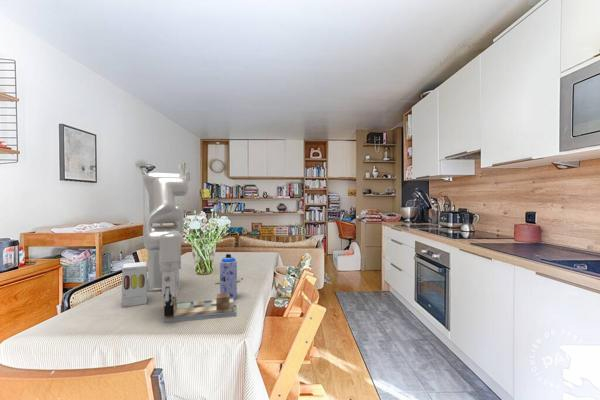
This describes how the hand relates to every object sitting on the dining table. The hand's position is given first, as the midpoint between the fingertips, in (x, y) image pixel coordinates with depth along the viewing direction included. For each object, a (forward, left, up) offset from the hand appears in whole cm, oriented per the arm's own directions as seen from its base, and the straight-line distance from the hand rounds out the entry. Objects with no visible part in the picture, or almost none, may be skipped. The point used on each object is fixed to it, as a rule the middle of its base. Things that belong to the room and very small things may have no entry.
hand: (170, 312), depth 111 cm
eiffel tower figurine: (+22, +44, -3) cm, 49 cm away
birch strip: (+11, 0, -1) cm, 11 cm away
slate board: (+11, +4, -2) cm, 12 cm away
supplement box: (-19, +21, -2) cm, 28 cm away
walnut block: (+19, 0, 0) cm, 20 cm away
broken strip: (+15, +8, -2) cm, 18 cm away
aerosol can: (+21, +18, -2) cm, 28 cm away
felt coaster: (+3, +8, -2) cm, 9 cm away
